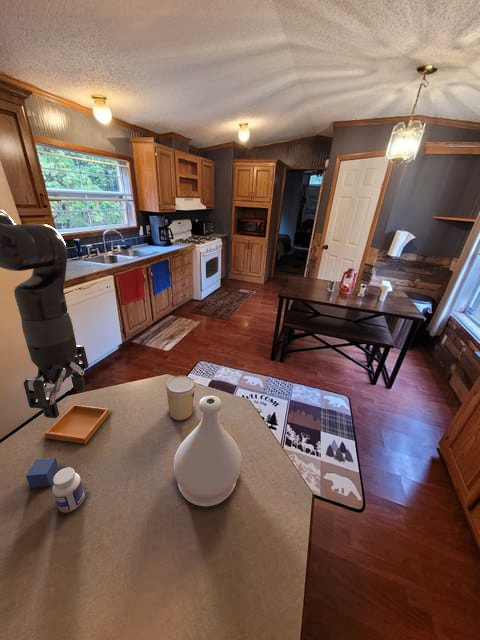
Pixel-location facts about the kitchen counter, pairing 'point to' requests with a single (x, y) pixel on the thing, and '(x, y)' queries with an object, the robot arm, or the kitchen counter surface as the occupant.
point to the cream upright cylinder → (180, 396)
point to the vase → (207, 459)
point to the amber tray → (77, 424)
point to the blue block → (42, 472)
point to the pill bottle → (67, 490)
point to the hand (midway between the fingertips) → (67, 402)
